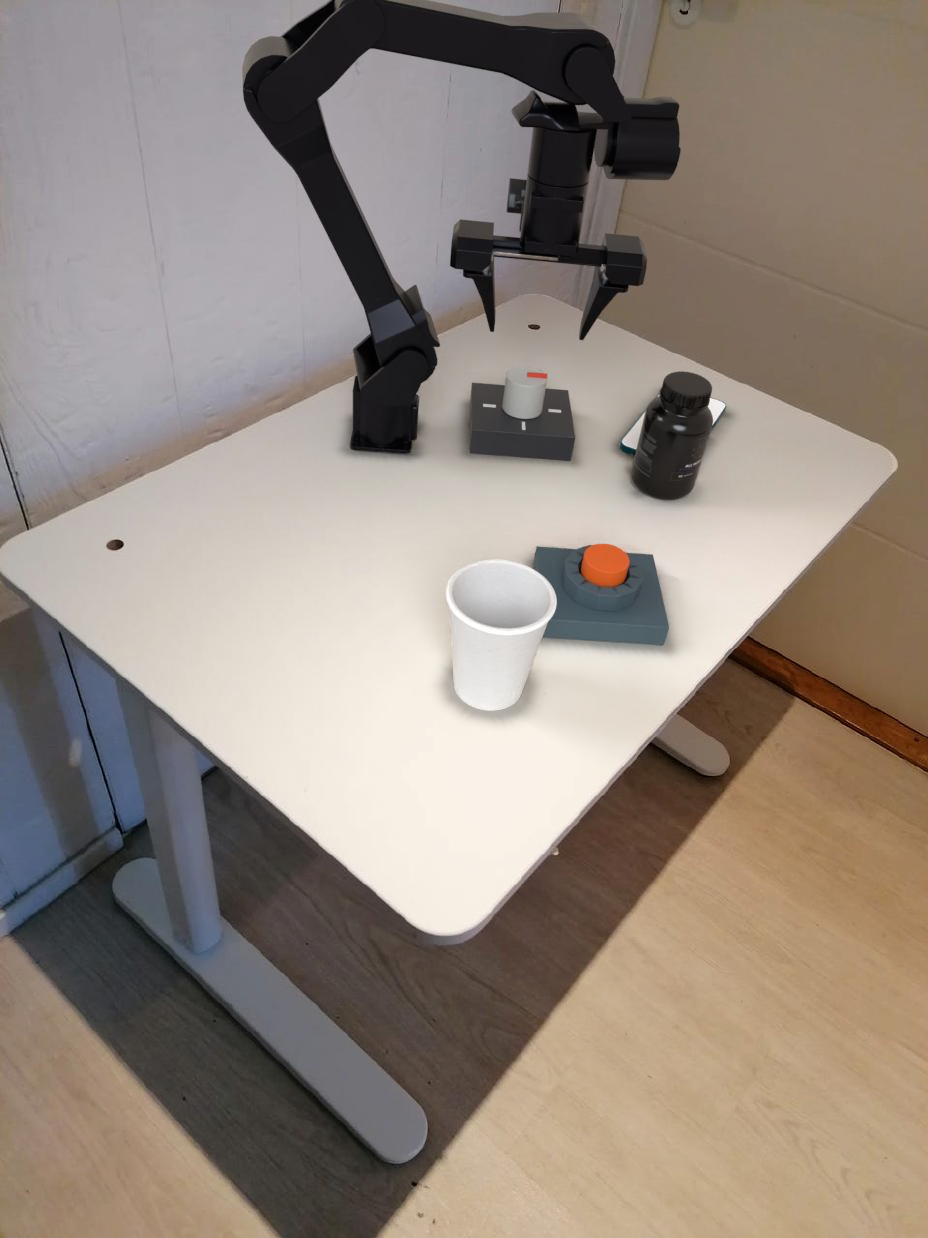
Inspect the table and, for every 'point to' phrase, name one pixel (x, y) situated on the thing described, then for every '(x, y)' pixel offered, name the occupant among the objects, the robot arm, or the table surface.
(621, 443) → the smartphone
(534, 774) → the table surface
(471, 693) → the dixie cup
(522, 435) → the timer panel
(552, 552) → the button housing
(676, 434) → the supplement bottle
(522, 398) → the timer knob
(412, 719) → the table surface
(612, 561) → the button
